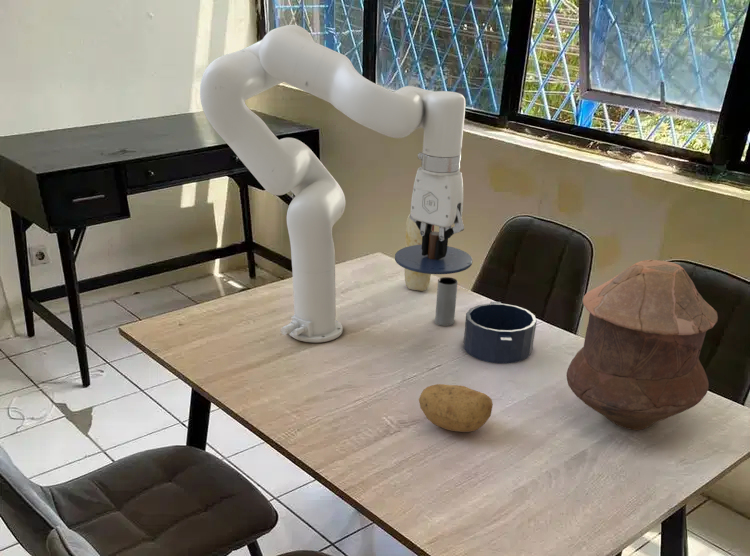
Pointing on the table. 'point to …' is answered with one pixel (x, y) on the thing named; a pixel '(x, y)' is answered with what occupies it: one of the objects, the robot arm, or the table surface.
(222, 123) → the robot arm
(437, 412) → the potato
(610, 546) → the table surface
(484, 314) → the pot
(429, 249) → the lid
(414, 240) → the food model
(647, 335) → the pottery vessel
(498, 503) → the table surface
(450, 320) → the grey tube
